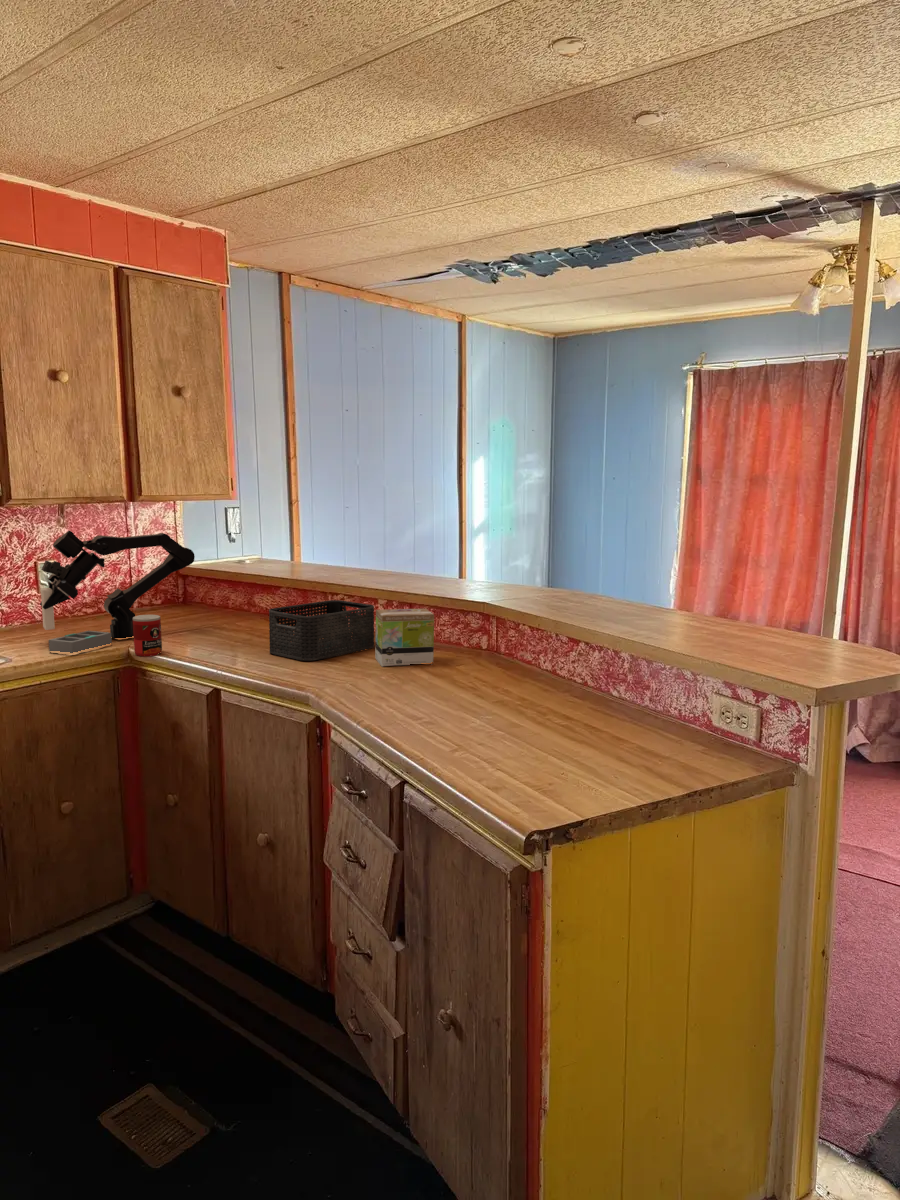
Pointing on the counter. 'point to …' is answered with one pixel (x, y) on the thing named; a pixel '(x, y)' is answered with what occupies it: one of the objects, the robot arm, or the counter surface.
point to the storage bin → (321, 630)
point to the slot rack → (80, 641)
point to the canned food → (147, 635)
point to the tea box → (404, 636)
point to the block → (47, 610)
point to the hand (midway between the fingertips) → (42, 607)
